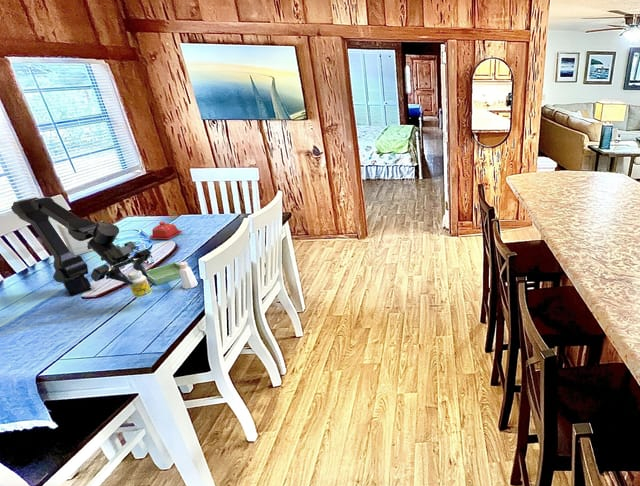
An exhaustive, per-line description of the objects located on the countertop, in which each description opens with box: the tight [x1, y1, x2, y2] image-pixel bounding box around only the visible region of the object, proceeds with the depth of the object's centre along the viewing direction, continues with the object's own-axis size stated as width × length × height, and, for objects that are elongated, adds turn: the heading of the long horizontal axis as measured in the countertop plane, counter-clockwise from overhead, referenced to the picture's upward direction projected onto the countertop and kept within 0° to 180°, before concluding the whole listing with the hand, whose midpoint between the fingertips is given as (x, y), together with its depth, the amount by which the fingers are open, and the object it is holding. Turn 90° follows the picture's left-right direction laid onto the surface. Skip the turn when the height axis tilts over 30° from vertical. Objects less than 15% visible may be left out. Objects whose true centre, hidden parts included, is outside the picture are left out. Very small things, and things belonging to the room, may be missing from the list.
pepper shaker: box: [178, 261, 199, 290], centre depth 162 cm, size 5×5×11 cm
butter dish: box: [149, 221, 183, 240], centre depth 209 cm, size 12×12×8 cm
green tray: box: [146, 261, 181, 286], centre depth 172 cm, size 12×12×3 cm
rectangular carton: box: [56, 222, 95, 256], centre depth 190 cm, size 9×9×15 cm
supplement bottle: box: [127, 270, 152, 299], centre depth 148 cm, size 5×5×10 cm
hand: (140, 280), depth 147 cm, fingers closed on supplement bottle, 5 cm apart
